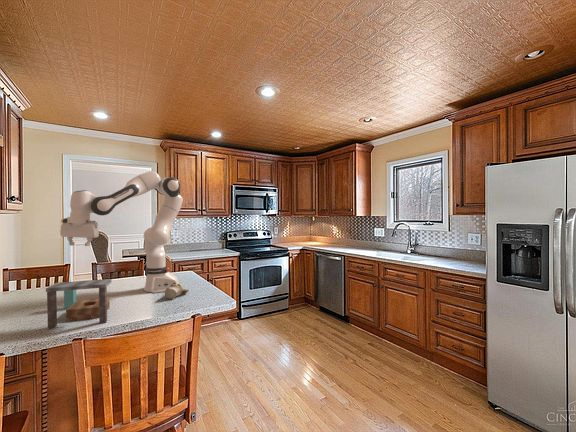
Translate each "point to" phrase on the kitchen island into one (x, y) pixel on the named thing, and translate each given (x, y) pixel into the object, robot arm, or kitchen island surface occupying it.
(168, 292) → the ceramic sculpture
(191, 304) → the kitchen island surface
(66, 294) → the peg
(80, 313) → the grey miniature side table
